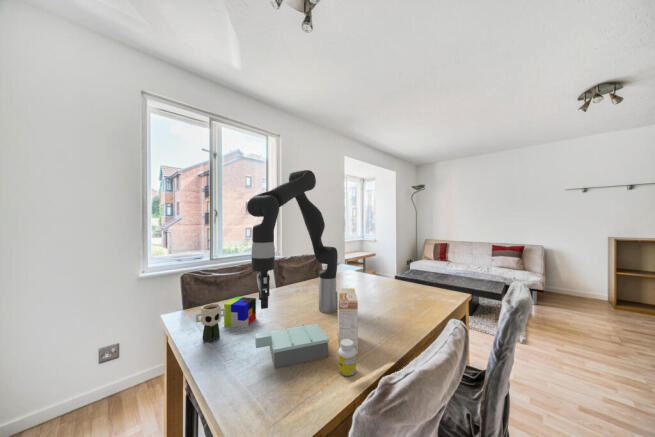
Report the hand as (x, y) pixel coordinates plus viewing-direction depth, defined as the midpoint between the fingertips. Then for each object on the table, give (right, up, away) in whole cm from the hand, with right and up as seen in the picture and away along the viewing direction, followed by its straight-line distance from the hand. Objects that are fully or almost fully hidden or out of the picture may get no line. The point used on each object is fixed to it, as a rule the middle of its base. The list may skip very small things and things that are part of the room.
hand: (263, 303), depth 78 cm
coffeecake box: (+29, -20, +11) cm, 37 cm away
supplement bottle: (+28, -20, -6) cm, 34 cm away
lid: (+9, -14, +3) cm, 16 cm away
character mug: (-25, -20, +15) cm, 35 cm away
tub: (+11, -20, +4) cm, 23 cm away
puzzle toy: (-19, -20, +30) cm, 41 cm away
